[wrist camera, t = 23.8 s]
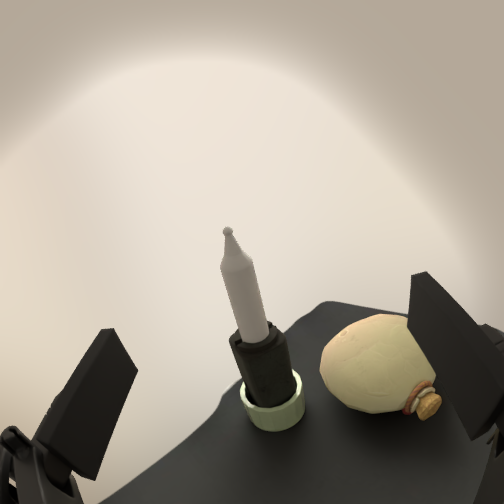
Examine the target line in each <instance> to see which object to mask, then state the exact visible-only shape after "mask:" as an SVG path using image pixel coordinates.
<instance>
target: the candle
mask: <svg viewBox="0 0 504 504" xmlns="http://www.w3.org/2000/svg"><path fill="white" fill-rule="evenodd" d="M232 232H233V231H232V228H230V227H225V228H224V230H223V234H224V235H225V252H224V257H223V259H222V262H221V265H220V268H221V272H222V275H223V279H224V282H225V286H226V289H227V292H228V296H229V299H230V302H231V305H232V309H233V312H234V316H235V319H236V322H237V325H238V329H237V331H236V332H235V333H234V334H233V335H232V336H231V337H230V338H229V343H230V346H231V349H232V351H233V354H234V357H235V360H236V363H237V365H238V368H239V370H240V373H241V376H242V379H243V381H244V384H245V387H246V389H247V392H248V395H249V397H250V400H251V402H252V404H253V405H255V406H257V407H260V408H273V407H277V406H281V405H283V404H284V403H286V402H287V401H289V400H290V399H291V398H292V397H293V395H294V394H295V393H296V387H295V382H294V377H293V371H292V366H291V361H290V356H289V351H288V346H287V340H286V336H285V335H284V334H283V333H282V332H281V331H280V330H278V329H277V328H276V326H274V325H272V323H271V322H269V321H267V320H266V316H265V312H264V308H263V304H262V300H261V295H260V291H259V287H258V283H257V278H256V274H255V270H254V266H253V262H252V259H251V257H250V256H248V255H247V254H246V253H245V252H244V251H243V250H242V249H241V248H240V246H239V244H238V243H237V241H236V239H235V238H234V236H233V235H232Z"/></svg>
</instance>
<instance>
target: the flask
mask: <svg viewBox="0 0 504 504" xmlns="http://www.w3.org/2000/svg"><path fill="white" fill-rule="evenodd" d="M407 320H408V319H407V318H405V317H402V316H398V315H386V314H379V315H375V316H371V317H368V318H365V319H363V320H360V321H358V322H355V323H353V324H351V325H349V326H348V327H346V328H345V329H343V330H342V331H341V332H340V333H338V334H337V335H336V336H335V337H334V338H333V339H332V340H331V341H330V342H329V343H328V344H327V345H326V346H325V348H324V350H323V353H322V359H321V365H320V373H321V375H322V378H323V380H324V382H325V385H326V387H327V389H328V390H329V391H330V392H331V393H332V394H333V395H334V396H335V397H337V398H338V399H339V400H340V401H341V402H343V403H344V404H345V405H346V406H347V407H349V408H352V409H356V410H360V411H363V412H367V413H371V414H375V413H383V412H391V411H397V410H401V409H402V412H403V413H404V414H407V415H410V414H411V413H413V412H414V411H416V412H417V414H418V417H419V419H420V420H423V421H424V420H426V419H427V418H429V417H430V416H432V415H433V414H435V413H436V411H437V410H438V408H439V407H440V405H441V403H442V399H441V396H439V395H437V394H434V393H435V388H433V387H432V384H433V382H434V380H435V376H436V374H435V372H434V370H433V368H432V367H431V365H430V363H429V362H428V360H427V358H426V357H425V355H424V354H423V352H422V350H421V349H420V347H419V345H418V344H417V342H416V341H415V339H414V338H413V336H412V334H411V333H410V331H409V330H408V328H407Z"/></svg>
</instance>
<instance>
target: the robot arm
mask: <svg viewBox="0 0 504 504" xmlns="http://www.w3.org/2000/svg"><path fill="white" fill-rule="evenodd" d="M407 328H408V330H409V331H410V333H411V334H412V336H413V338H414V339H415V341H416V342H417V344H418V345H419V347H420V349H421V350H422V352H423V354H424V355H425V357H426V358H427V360H428V362H429V363H430V365H431V367H432V368H433V370H434V372H435V374H436V375H437V377H438V379H439V381H440V382H441V384H442V386H443V388H444V389H445V391H446V393H447V395H448V397H449V398H450V400H451V402H452V404H453V406H454V408H455V410H456V412H457V414H458V415H459V417H460V419H461V421H462V423H463V425H464V427H465V429H466V431H467V433H468V436H469V438H470V440H471V441H473V440H475V439H476V438H478V437H480V436H481V435H483V434H485V433H486V432H488V431H489V430H490V428H491V427H492V426H493V424H494V423H496V425H497V427H498V428H497V429H496V430H495V432H494V433H493V434H492V436H491V437H490V438H489V439H488V442H487V444H490V443H491V441H492V440H493V439H494V440H493V444H492V448H491V452H490V456H489V459H488V463H487V466H486V470H485V473H484V476H483V479H482V482H481V485H480V487H479V490H478V493H477V495H476V498H475V500H474V503H473V504H504V338H503V337H502V335H501V334H500V333H499V332H498V331H497V330H496V329H494V328H493V327H491V326H489V325H487V324H484V325H482V326H478V325H477V324H476V322H475V321H474V320H473V319H472V318H471V317H470V316H469V315H468V314H467V313H466V311H465V310H464V309H463V308H462V307H461V306H460V305H459V304H458V303H457V302H456V301H455V300H454V299H453V298H452V297H451V295H450V294H449V293H448V292H447V291H446V290H445V289H444V288H443V287H442V286H441V285H440V284H439V283H438V282H437V281H436V280H435V279H433V278H432V277H431V276H430V274H428V273H427V272H422V273H418V274H415V275H411V289H410V301H409V312H408V320H407ZM137 372H138V369H137V368H136V366H135V364H134V363H133V361H132V360H131V358H130V356H129V355H128V353H127V351H126V350H125V348H124V346H123V344H122V343H121V341H120V339H119V337H118V335H117V334H116V332H115V330H114V328H110V329H101V331H100V332H99V334H98V335H97V337H96V338H95V340H94V341H93V343H92V344H91V346H90V347H89V349H88V350H87V352H86V353H85V355H84V356H83V358H82V359H81V361H80V363H79V364H78V366H77V367H76V369H75V370H74V372H73V374H72V375H71V377H70V379H69V380H68V382H67V384H66V385H65V387H64V389H63V390H62V391H61V392H60V393H59V394H58V395H57V396H56V397H55V399H54V401H53V402H52V404H51V408H49V409H48V411H47V415H45V416H44V418H43V420H42V422H41V423H40V425H39V427H38V429H37V431H36V433H35V435H34V437H33V438H32V440H31V441H30V440H29V439H28V438H27V437H26V436H25V435H24V434H23V433H22V432H21V431H20V430H19V429H18V428H17V427H16V426H9V427H7V428H6V429H5V430H4V431H3V432H2V434H1V436H0V504H84V503H83V500H82V498H81V495H80V492H79V489H78V486H77V483H76V480H75V478H74V476H73V475H71V472H72V470H73V471H74V472H76V473H77V474H78V475H80V476H81V477H84V478H87V479H90V480H93V481H95V480H96V477H97V474H98V472H99V469H100V466H101V463H102V460H103V458H104V455H105V452H106V449H107V446H108V444H109V441H110V439H111V436H112V433H113V431H114V428H115V426H116V423H117V421H118V418H119V415H120V413H121V410H122V408H123V406H124V403H125V401H126V398H127V396H128V393H129V391H130V389H131V386H132V384H133V381H134V379H135V377H136V375H137ZM9 477H10V478H11V479H12V480H14V481H15V482H16V487H14V486H13V485H11V484H10V483H9Z"/></svg>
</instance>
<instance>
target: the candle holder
mask: <svg viewBox="0 0 504 504" xmlns="http://www.w3.org/2000/svg"><path fill="white" fill-rule="evenodd" d="M292 371H293V377H294V382H295V387H296V393H295V394H294V395H293V397H292V398H291V399H290V400H289V401H287V402H286V403H284V404H283V405H281V406H277V407H273V408H260V407H257V406H255V405H253V404H252V402H251V400H250V397H249V395H248V392H247V389H246V387H245V384H244V381H243V384H242V386H241V389H240V394H241V400H242V402H243V404H244V407H245V409H246V411H247V413H248V416H249V418H250V419H251V421H252V422H253V424H254V425H255V426H257V427H258V428H260V429H262V430H266V431H274V432H275V431H282V430H285V429H288V428H290V427H292V426H294V425H295V424H296V423H297V422H298V421H299V420H300V419H301V418H302V416H303V414H304V411H305V398H304V392H303V385H302V382H301V379H300V376H299V375H298V374H297V373H296V372H295V371H294V370H293V369H292Z"/></svg>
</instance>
